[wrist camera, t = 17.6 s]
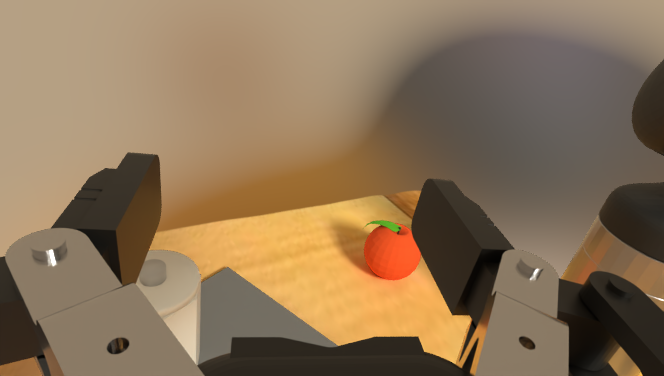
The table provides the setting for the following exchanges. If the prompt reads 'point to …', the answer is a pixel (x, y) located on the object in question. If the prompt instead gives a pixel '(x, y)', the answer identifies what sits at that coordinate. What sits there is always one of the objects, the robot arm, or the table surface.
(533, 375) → the robot arm
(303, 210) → the table surface
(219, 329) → the mat
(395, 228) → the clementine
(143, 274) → the white lidded jar
